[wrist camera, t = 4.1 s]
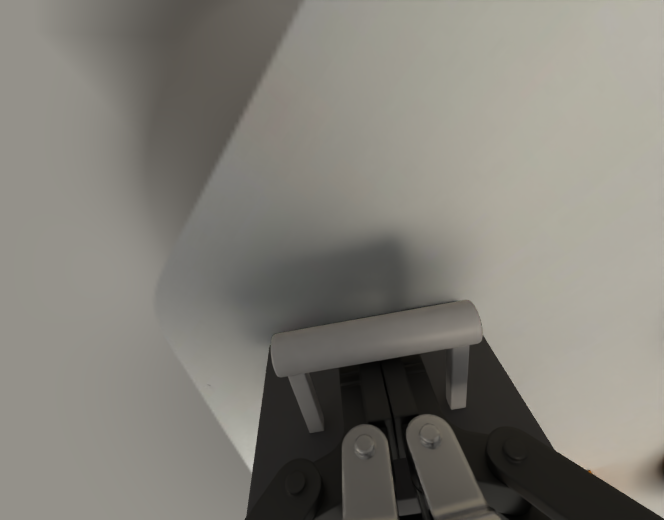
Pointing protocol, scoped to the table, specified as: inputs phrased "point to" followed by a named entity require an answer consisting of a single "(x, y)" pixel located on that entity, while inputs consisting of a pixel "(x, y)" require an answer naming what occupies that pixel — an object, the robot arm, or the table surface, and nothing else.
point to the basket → (368, 346)
